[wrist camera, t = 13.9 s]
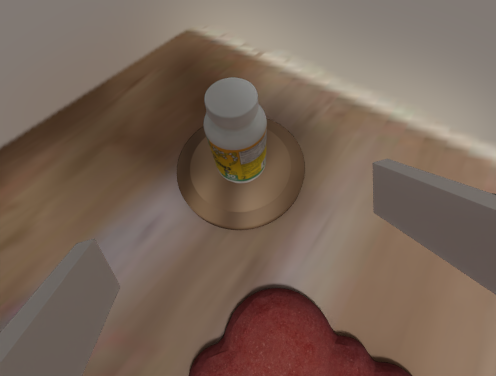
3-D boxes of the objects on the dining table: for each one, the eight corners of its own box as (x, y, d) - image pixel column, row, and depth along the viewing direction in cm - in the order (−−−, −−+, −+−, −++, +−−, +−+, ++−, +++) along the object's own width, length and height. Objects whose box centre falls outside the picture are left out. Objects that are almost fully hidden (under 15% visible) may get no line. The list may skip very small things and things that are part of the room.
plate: (173, 231, 25) (168, 227, 24) (186, 123, 31) (183, 115, 30) (309, 228, 25) (312, 225, 23) (297, 118, 30) (298, 111, 29)
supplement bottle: (275, 168, 26) (282, 103, 17) (232, 194, 25) (217, 138, 16) (248, 134, 28) (242, 60, 19) (207, 157, 27) (182, 90, 18)
